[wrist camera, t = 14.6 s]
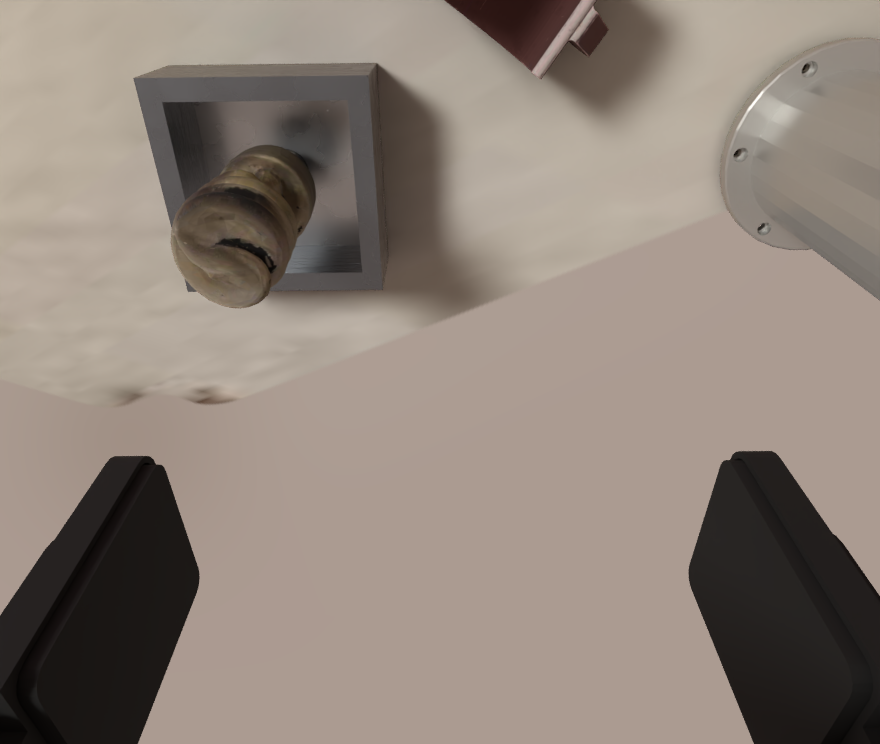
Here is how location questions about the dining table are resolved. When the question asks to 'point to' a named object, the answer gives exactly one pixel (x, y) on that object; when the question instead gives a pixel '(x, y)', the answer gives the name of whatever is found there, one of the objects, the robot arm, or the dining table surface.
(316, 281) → the frame
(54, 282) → the dining table surface
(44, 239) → the dining table surface
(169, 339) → the dining table surface
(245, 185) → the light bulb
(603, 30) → the dark brown lumpy piece
